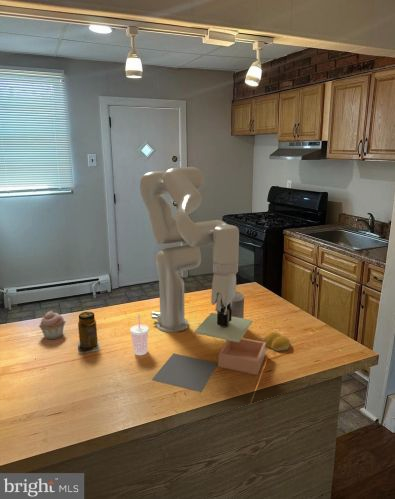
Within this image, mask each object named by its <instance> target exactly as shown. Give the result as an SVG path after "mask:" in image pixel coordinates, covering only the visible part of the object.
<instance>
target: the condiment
mask: <svg viewBox="0 0 395 499" xmlns="http://www.w3.org/2000/svg"><path fill="white" fill-rule="evenodd" d="M77 327H78V338H79V341H77V342H76V343H77V344H76V345H77V351H78V354H88V353H92V352H98V351H101V346H100V341H99V338H98V330H97V321H96V318H95V313H94V312H92V311H83V312H81V313H79V315H78V323H77Z"/></svg>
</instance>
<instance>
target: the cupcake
mask: <svg viewBox="0 0 395 499" xmlns="http://www.w3.org/2000/svg"><path fill="white" fill-rule="evenodd" d="M66 323H67V321H66V320H64V317H63V316H62V315H60V314H59V313H58V312H54V311H53V310H50V311H47V312H46V314H45V315H44V316H43V317H42V318H41V322H40V323H39V325H38V327H39V328H40V330H41V331H42V332H41V333H42V334H43V337H44V338H45V339H46V340H55V339H59V338H60V337H62V336H63V334H64V327H65V325H66Z"/></svg>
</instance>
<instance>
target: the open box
mask: <svg viewBox="0 0 395 499" xmlns="http://www.w3.org/2000/svg"><path fill="white" fill-rule="evenodd" d="M266 349H267V346H266V342H264V341H260V340H255V339H250V338H244V337H242V339H241V340H240V342H234V341H229V340H226V341H225V343H224V344H223V346H222V348H221V349H220V351H219V353H218V362H217V363H218V364H217V367H218V368H221V369H226V370H230V371H234V372H239V373H245V374H249V375H254V376H256V377H257V376H258V375H259V372H260V370H261V368H262V365H263V361H264V359H265V357H266V354H267V353H266Z"/></svg>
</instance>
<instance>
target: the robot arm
mask: <svg viewBox="0 0 395 499" xmlns="http://www.w3.org/2000/svg"><path fill="white" fill-rule="evenodd" d="M204 183H205V178H204V175H203V173H202V171H201V170H200V169H199V168H197V167H194V166H187V167H186V166H182V167H172V168H169V169H167V170H157V171H149V172H146V173H144V174H143V175H142V176H141V177H140V181H139V191H140V196H141V198H142V201H143V202H144V204H145V207H146V209H147V212H148V215H149V219H150V224H151V228H152V233H153V237H154V239H155V242H156V243H157V244H158V245H162V246H163V245H164V246H165V245H173V244H178V243H179V244H180V243H181V245H178V246H177V245H176V246H171V247H166V248H162V249H160V250H159V251H158V252H157V253H156V256H155V263H156V264H155V265H156V268H157V274H158V286H159V288H158V289H159V290H158V291H159V292H158V293H159V312H158V311H152V312H151V319H153V320H157V321H156V323H155V325H156V328H157V329H158V330H159V331H160V332H161V331H162V332H165V333H180V332H184V331H185V330H186V329H187V328H188V327H189V321H188V319H186V316H185V281H184V279H183V278H182V277H181V276H180V275H179V273H180V272H184V271H188V270H193V269H196V268H198V267H199V266H201V263H202V254H201V249H200V248H203V247H207V246H212V272H213V277H212V284H211V296H210V297H211V300H210V302H211V305H215V304H216V305H215V311H216V314H217V325H221V326H227V325H228V314H227V309H229V321H231V317H232V309H231V308H232V300H233V299H234V297H235V294H236V292H237V273H238V272H239V250H240V248H239V247H240V230H239V228H238V227H237V226H236V225H234V224H233V225H232V224H228V223H226V222H225V221H223V220H220V219H216V220H215V219H213V220H206V221H198V222H193V220H192V219H191V218H190V216H189V215H190V214H192V213H194V211H196V210H197V209H198V208H199V207H200V205H201V204H202V201H203V197H202V194H201V193H200V192H199V191H200V190H202V189H203V187H204V185H205V184H204ZM161 195H170V197H171V198H172V200H173V201H174V203H175V205H176V206H177V210H176V212H175V213H176V215H175V217H174V215H173V212H172V208H171V205H170V203H168V202H167V200H165V198H163V196H161ZM222 303H223V304H222ZM221 307H224V308H221Z"/></svg>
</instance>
